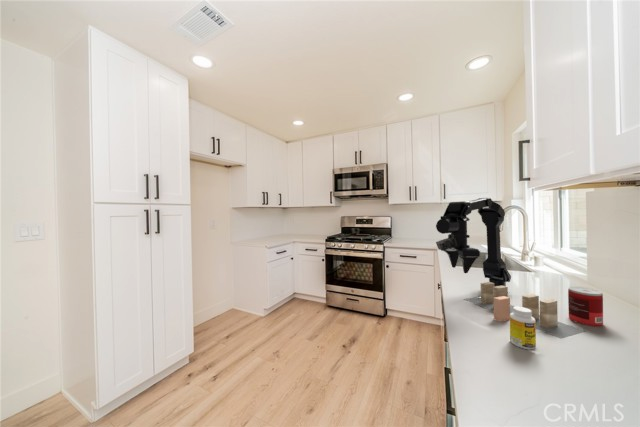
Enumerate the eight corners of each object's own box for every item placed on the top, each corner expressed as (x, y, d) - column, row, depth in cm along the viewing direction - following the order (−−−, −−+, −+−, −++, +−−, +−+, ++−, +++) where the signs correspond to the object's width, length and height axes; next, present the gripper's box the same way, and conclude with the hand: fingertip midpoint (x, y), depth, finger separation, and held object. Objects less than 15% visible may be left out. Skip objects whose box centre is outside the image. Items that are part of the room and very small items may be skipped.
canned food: (600, 321, 78) (600, 289, 78) (606, 330, 72) (605, 295, 72) (567, 315, 83) (566, 284, 83) (570, 323, 77) (569, 290, 77)
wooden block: (539, 325, 75) (539, 300, 75) (549, 322, 76) (549, 298, 76) (547, 328, 73) (547, 303, 73) (557, 325, 75) (557, 301, 74)
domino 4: (522, 318, 80) (522, 295, 80) (532, 316, 81) (531, 293, 81) (529, 321, 78) (528, 297, 78) (539, 318, 79) (538, 295, 79)
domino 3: (493, 320, 80) (493, 297, 80) (504, 318, 81) (503, 295, 81) (499, 323, 78) (499, 299, 78) (510, 320, 79) (509, 297, 79)
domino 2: (493, 307, 89) (492, 286, 89) (502, 305, 91) (502, 285, 91) (498, 309, 87) (498, 288, 87) (507, 307, 89) (507, 287, 89)
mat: (484, 296, 101) (484, 295, 101) (585, 332, 71) (585, 331, 71) (463, 300, 98) (463, 299, 98) (560, 339, 67) (560, 338, 67)
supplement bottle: (525, 351, 62) (525, 314, 62) (505, 340, 67) (504, 306, 67) (541, 348, 63) (540, 312, 63) (519, 338, 69) (519, 304, 69)
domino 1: (480, 302, 94) (480, 283, 94) (489, 300, 96) (489, 281, 96) (485, 304, 92) (485, 284, 92) (494, 302, 94) (494, 283, 94)
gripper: (429, 230, 104) (430, 264, 104) (449, 234, 85) (450, 276, 85) (455, 230, 103) (455, 264, 103) (480, 234, 84) (481, 276, 84)
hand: (459, 270), depth 94 cm, fingers open, 9 cm apart
